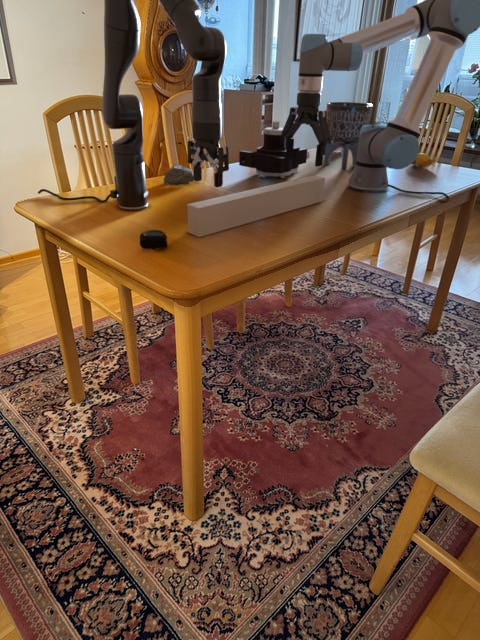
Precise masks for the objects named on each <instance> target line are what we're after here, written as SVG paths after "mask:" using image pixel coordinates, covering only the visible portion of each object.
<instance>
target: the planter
mask: <svg viewBox="0 0 480 640" xmlns="http://www.w3.org/2000/svg"><path fill="white" fill-rule="evenodd" d="M373 107H374V106H373V104H372V103H367V102H353V101H333V102H327V103H326V109H325V111H326V112H327V115H326V119H327V123H328V127H329V132H330V136H331V140H332V142H331V143H329V144H327V145H326V148H325V155H324V156H323V165H325V166H328V165H330V163H331V158H332V156H333V154H334V153H335V152H336V151H335V150H336V149H338V148H340V147H342V151H341V152H342V153H341V166H340V170H341V172H345V171H347V167H348V166H347V165H348V159H349V152H350V154H351V157H352V158H351V159H352V160H351V161H352V166H353V167H355V165H356V158H357V151H358V143H359V135H360V131H361V128H362V126H363V125H370V121H371V116H372V112H373Z"/></svg>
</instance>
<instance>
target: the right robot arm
mask: <svg viewBox="0 0 480 640" xmlns="http://www.w3.org/2000/svg"><path fill="white" fill-rule="evenodd" d="M479 28H480V0H423V1H420V2H419V3H417V4H415V5H412V6H409V7H407V8H406V9H405V11H404V12H403V13H400V14H398V15H396V16H393V17H390V18H388V19H385V20H382V21H380V22H377V23H375V24H372V25H369V26H367V27H365V28H362V29H359V30H356V31H354V32H351V33H348V34H346V35H343V36H340V37H338V38H336V39H333V40H330V41H328V37H327V34H324V33H305V34H303V35H302V37H301V42H300V49H299V67H298V80H297V91H299V92H297V94H296V106H292V107H290V108H289V113H288V116H287V118H286V121H285V124H284V126H283V127H282V128H283V131H282V133H281V135H282V136H284V137H285V138H286V144H285V148H286V160H288V159H293V147H294V145H295V138H294V136H295V134H296V133H297V131H298V130H299V129H300V128H301V127H302V125H306V126H309V127H311V129H312V131H313V134H314V136H315V138H316V140H317V143H318V144H317V145H316V151H315V161H314V167H317V168H318V167H322V166H323V163H324V156H325V148H326V145H327V144H329V143H331V142H332V140H331V136H330V132H329V127H328V123H327V119H326V115H327V112H326V110H319V107H320V106H321V100H322V93H321V92H322V90H323V82H324V81H323V80H324V73H325V72H324V71H326V72H327V71H328V72H329V71H333V72H334V71H335V72H355V71H358V70H359V69H360V68H361V65H362V63H363V60H364V56H366V55H368V54H371V53H374V52H376V51H378V50H382V49H384V48H387V47H390V46H392V45H394V44H397V43H399V42H403V41H405V40H407V39H409V40H410V41H414V40H417V39H419V38H425V37H428V40H429V43H428V45H427V47H426V50H425V51H424V53H423V56H422V58H421V60H420V62H419V63H418V67H417V69H416V71H415V73H414V76H413V78H412V80H411V81H410V85H409V86H408V88H407V90H406V93H405V95H404V97H403V99H402V102H401V104H400V106H399V108H398V110H397V112H396V115H395V117H394V118H393V119H391V120H389V121H388V122H387V124H369V125H363V126H362V128H361V131H360V135H359V143H358V151H357V158H356V165H355V166H354V167H353V171H351V174H350V176H349V179H348V182H347V187H348V188H349V189H351V190H354V191H358V192H363V193H364V192H365V193H382V192H386V191H388V189H389V188H392V189H393V190H396V191H399V192H402V193H406V194H412V195H413V194H415V195H424V194H425V195H426V194H427V195H442V196H444V197H445V198H446V199H450V196H449V195H448V194H447V193H445V192H442V191H415V190H414V191H412V190H405V189H401V188H399V187H397V186H394V185H392V184H389V178H388V173H387V172H388V171H387V168H388V169H391V170H392V169H393V170H402V169H405V168H407V167H409V166H410V165H412V164H411V163H412V162H413V161H414V160H415V159H416V157H417V155H418V154H420V142H419V138H420V135H421V131H420V126H421V124H422V122H423V120H424V118H425V115H426V113H427V111H428V109H429V107H430V105H431V102H432V100H433V99H434V96H435V94H436V92H437V91H438V88H439V86H440V84H441V82H442V80H443V78H444V75H445V74H446V71H447V69H448V67H449V66H450V63H451V61H452V58H453V57H454V55H455V52H456V51H457V50H459V49H460V48H462V47H464V45H465V43H466V40H467V39H468V36H470V35H472V34H473V33H475V32H476V31H478V30H479Z"/></svg>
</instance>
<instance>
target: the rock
mask: <svg viewBox="0 0 480 640" xmlns="http://www.w3.org/2000/svg"><path fill="white" fill-rule="evenodd" d="M191 182H194V174H193V169H191V168H188V167H186V166H183V165H180V164H178V163H174V164H173V166H172V167H170V168H169V169H168V170H167V171H166V172H165V174H164V177H163V183H164V185H169V186H180V185H184V186H185V185H190V184H189V183H191Z"/></svg>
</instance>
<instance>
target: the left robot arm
mask: <svg viewBox="0 0 480 640" xmlns="http://www.w3.org/2000/svg"><path fill="white" fill-rule="evenodd" d="M158 2H159V4H160V6H161V7H162V9H163V10H164V12H165V13H166V15H167V17H168V18H169V19H170V21H171V22H172V24H173V25H174V28H175V30H176V33H177V36H178V38H179V40H180V44H181V46H182V48H183V49H184V51H185V53H186V54H187V55H188V56H189V57H190V58H191V59H192V60H193V61H196V62H200V63H201V64H200V69H199V71H198V72H197V73H195V74H194V75H193V76H192V79H191V92H192V93H191V97H192V98H191V99H192V103H191V104H192V105H191V124H192V126H191V127H192V129H191V131H192V140H188V141H187V164H190V165H191V167H192V170H193V174H194V180H193V182H201V181H202V179H203V176H202V175H203V174H202V173H203V170H202V169H203V168H202V165H203V162H207V163H208V164H209V166H211V167H212V169H213V172H214V173H213V178H214V179H213V187H214V188H221V187H223V184H224V180H223V179H224V172H228V171H229V170H230V161H229V147H228V146H227V145H226V146H221V145H220V141H221V139H222V136H223V135H222V133H223V132H222V131H223V130H222V129H223V128H222V124H223V123H222V117H223V116H222V115H223V113H222V102H221V101H222V100H221V97H222V96H221V80H222V76H223V71H224V68H225V62H226V56H227V42H226V39H225V38H226V37H225V35H224V34H223V32H222V31H221V30H220V29H219V28H217V27H212V26H204V25H202V23H201V22H200V18H201V9H200V7H199V5H198V3H197V2H196V0H158ZM103 4H104V10H103V11H104V12H103V14H104V15H103V47H104V48H103V49H104V71H103V72H104V73H103V86H102V99H101V101H102V102H101V104H102V105H101V112H102V119H103V122H104V124H105V126H106V127H107V128H108V129H109V130H126V132H125V133H124V134H123V136H121V137H120V138H118V139H116V140H114V141H113V142H112V144H111V149H112V159H113V165H114V174H115V176H114V178H113V180H114V188H115V189H110V190H109V194H108V195H107V196H106V197H105V199H103V200H102V199H100V198H99V197H97V196H93V195H85V196H77V197H64V196H61V195H59V194H57V193H54V192H53V191H50V190H48V189H45V188H41V189H40V190H38V192H37V194H38V195H39V194H41V193H42V192H45V193H47V194H50V195H51V196H54V197H56V198H58V199H59V200H62V201H77V200H79V201H80V200H87V199H88V200H89V199H90V200H91V199H92V200H96V201H98V202H99V203H102V204H105V203H107V202H108V201H109V200H110V198H111V199H113V200H114V199H116V204H117V205H116V206H117V207H118V208H119V209H120V210H123V211H131V212H132V211H141V210H144V209H147V208H148V207H149V202H148V195H149V190H147V181H146V169H145V157H144V118H143V117H144V116H143V107H142V103H141V101H140V98H139V97H138V95H136V94H120V91H121V88H122V87H121V86H122V82H123V79H124V77H125V75H126V74H127V72H128V70H129V69H130V67H131V65H132V64H133V63H134V61H135V60H136V57H137V55H138V53H139V50H140V43H141V42H140V41H141V17H140V14H139V11H138V8H137V5H136V3H135V0H104V3H103Z"/></svg>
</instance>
